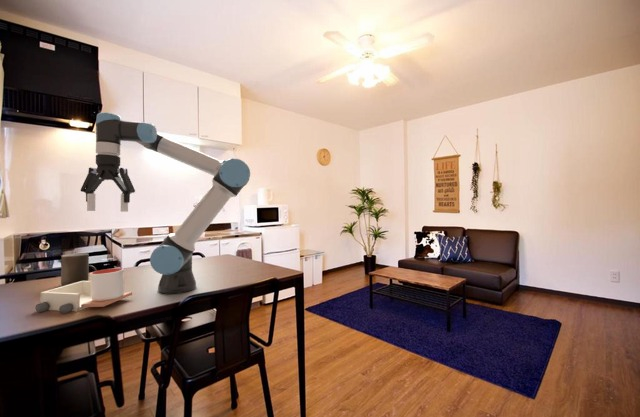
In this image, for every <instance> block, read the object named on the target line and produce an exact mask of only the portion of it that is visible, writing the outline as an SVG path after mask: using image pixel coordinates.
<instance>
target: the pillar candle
mask: <svg viewBox="0 0 640 417" xmlns="http://www.w3.org/2000/svg"><path fill="white" fill-rule="evenodd" d="M89 255H90V254H89V253H85V252H76V251H75V252H74V253H69V254H63V255H61V263H60V264H61V270H60V287H62V286H66V285H69V284H73V283H76V282H80V281H90V277H89V276H90V271H89V270H90V268H89V264H90V263H89V260H90V259H89V258H90V256H89Z"/></svg>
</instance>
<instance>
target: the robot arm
mask: <svg viewBox="0 0 640 417" xmlns="http://www.w3.org/2000/svg"><path fill="white" fill-rule="evenodd" d="M121 141H122V142H123V141H124V142H132V143H133V142H135V143H136V144H137V143H138V144H140V145H141V146H143V147H144V148H145V149H147V150H150V151H151V150H152V151H153V152H157V153H159V154H161V155H164V156H167V157H169V158H170V159H173V160H175V161H177V162H180V163H183V164H185V165H188V167H189V166H190V167H192V168H194V169H196V170H199V171H201V172H203V173H205V174H208V175H211V176H213V178H212V179H211V182H212V186H211V187H210V188H209V189H208V191H207V192H206V193H205V194H204V195H203V196H202V198H201V199H200V201H199V202H198V203H197V204H196V205H195V207H194V208H193V210H192V211H191V212H190V213H189V215H188V216H187V217H186V219H184V221H183V222H182V224H181V225H180V226H179V227H178V229H177V230H176V231H175V232H172V233H168V235H167V236H166V237H164V238H163V241H162V243H160V244H159V246H156V248H155V249H153V251H152V253H151V254H150V256H149V257H150V258H149V263H150V266H151V268H152V269H153V270H154V271H155V272H156V273H158V274H161V278H160V280H159V283H158V286H157V292H158V293H160V294H165V295H166V294H169V295H173V294H175V295H176V294H182V293H183V294H184V293H187V291H188V292H190V290H191V291H193V290H196V288H197V282H196V281H197V280H196V279H195V275H194V272H193V253H194V252H195V251H196V249H195V248H196V247H195V244H196V243H197V242H198V240H199V239H200V238H201V237H202V235H203V234H204V232H205V231H206V230H207V229H208V227H209V226H210V225H211V224H212V222H213V221H214V220H215V219H216V217H217V216H218V214H219V213H220V212H221V210H222V209H223V208H224V207H225V205H226V204H227V202H228V201H229V200H230V199H231V198H235V197H237V196H238V195H239V193H240V192H241V190H243V188H244V187H245V186H246V185H247V184H248V183H249V181H250V177H251V169H250V167H249V166H248V164H247V163H246V162H245V161H244V160H242V159H239V158H229V159H227V160H225V159H222V160H220V159H218V158H215V157H212V156H210V155H208V154H206V153H203V152H201V151H199V150H196V149H194V148H192V147H189V146H187V145H185V144H182V143H180V142H178V141H175V140H173V139H171V138H169V137H166V136H164V135H162V134H161V133H158V131H157V128H156V125H154V124H153V123H151V122H150V123H149V122H145V121H129V120H122V118H121V116H120V115H119V114H115V113H110V112H99V113H97V114H96V120H95V153H96V155H95V164H96V165H97V167H96V168H95V167H88V171H87V172H88V173H87V175H86V177H85V179H84V182H83V183H82V186H81V188H80V192H83V193H85V202H86V205H87V206H86V211H87V212H93V211H95V212H96V193H95V192H96V190H97V189H98V187H99V186H100V185H101V184H102V183H103V182H104V181H113V183H115V185H116V187H118V189H119V190H120V191H121V194H120V212H121V213H122V212H125V213H126V212H129V203H130V202H131V199H130V198H131V197H130V196H131V194H134V193H136V189H135V188H134V185H133V182H132V180H131V178H130V176H129V172H128V169H127V168H125V167H120V166H121V157H120V156H121V146H122V144H121ZM119 167H120V168H119Z"/></svg>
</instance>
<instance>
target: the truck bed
mask: <svg viewBox="0 0 640 417" xmlns="http://www.w3.org/2000/svg"><path fill="white" fill-rule="evenodd" d="M89 301H92V298H91V285H90V280H88V281H80V282H76V283H73V284H69V285H66V286H59V287H56V288H55V287H54V288H51V289H48V290H43V291H41V292H40V302H39V303H37V304H36V305H35V311H36V312H37V313H43V312H46V311H58V312H59V313H60V314H61V315H66V314H68V313H71V312H79V311H82V310H85V309H87V308H89V307H82V306H81V305H82V304H84V303H86V302H89Z"/></svg>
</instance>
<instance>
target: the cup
mask: <svg viewBox="0 0 640 417" xmlns="http://www.w3.org/2000/svg"><path fill="white" fill-rule="evenodd" d="M124 272H125V271H124V268H119V267H118V268H117V267H115V268H107V269H100V270H95V271H92V272H89V276H90V277H89V281H90V285H91V298H92V300H94V301H106V300H111V299H115V298H118V297H120V296H122V295H123V294H124V292H125V279H124V278H125V274H124Z"/></svg>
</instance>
